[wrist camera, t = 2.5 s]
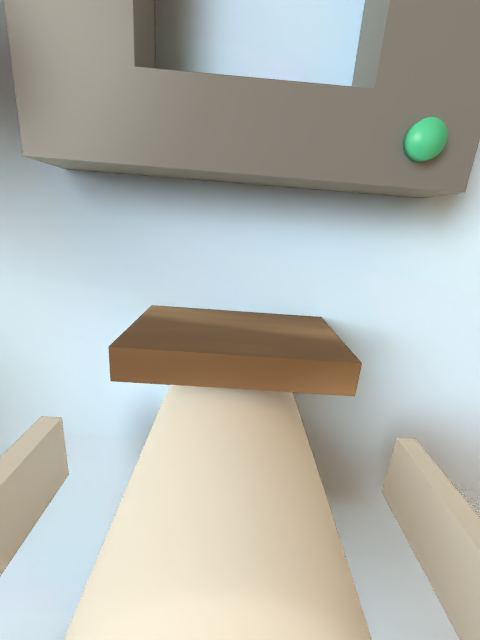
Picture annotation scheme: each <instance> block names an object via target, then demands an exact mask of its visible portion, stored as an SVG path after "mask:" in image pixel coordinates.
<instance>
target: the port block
mask: <svg viewBox="0 0 480 640" xmlns="http://www.w3.org/2000/svg"><path fill="white" fill-rule="evenodd" d="M3 1H4V9H5V17H6V25H7V33H8V41H9V49H10V57H11V65H12V73H13V81H14V89H15V96H16V104H17V112H18V120H19V128H20V136H21V144H22V152H23V156H25V157H28V158H32V159H35V160H38V161H41V162H44V163H48V164H51V165H54V166H57V167H60V168H64V169H75V170H87V171H99V172H112V173H124V174H136V175H148V176H160V177H173V178H185V179H197V180H209V181H222V182H234V183H246V184H258V185H271V186H283V187H295V188H307V189H319V190H332V191H344V192H356V193H368V194H381V195H393V196H405V197H417V198H427V197H434V196H441V195H449V194H456V193H464V192H465V190H466V187H467V183H468V179H469V176H470V172H471V168H472V165H473V161H474V157H475V154H476V150H477V147H478V143H479V139H480V0H365V6H364V12H363V19H362V25H361V31H360V38H359V44H358V51H357V57H356V63H355V70H354V76H353V82H352V87H351V86H340V85H330V84H319V83H308V82H297V81H286V80H275V79H264V78H253V77H243V76H232V75H221V74H210V73H199V72H188V71H177V70H166V69H156V68H155V0H3Z"/></svg>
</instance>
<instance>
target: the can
mask: <svg viewBox="0 0 480 640" xmlns="http://www.w3.org/2000/svg"><path fill="white" fill-rule="evenodd" d="M64 640H371V637H370V633H369V630H368V627H367V623H366V620H365V616H364V613H363V610H362V607H361V604H360V601H359V597H358V594H357V591H356V588H355V585H354V582H353V578H352V575H351V572H350V569H349V566H348V563H347V559H346V556H345V553H344V550H343V547H342V544H341V541H340V538H339V534H338V531H337V528H336V525H335V522H334V519H333V516H332V513H331V509H330V506H329V503H328V500H327V497H326V494H325V491H324V488H323V485H322V482H321V478H320V475H319V472H318V469H317V466H316V463H315V460H314V457H313V454H312V451H311V448H310V444H309V441H308V438H307V435H306V432H305V429H304V426H303V423H302V420H301V417H300V414H299V411H298V408H297V405H296V402H295V399H294V396H293V393H292V392H278V391H262V390H246V389H230V388H214V387H198V386H182V385H170V387H169V389H168V391H167V393H166V396H165V398H164V400H163V402H162V405H161V407H160V409H159V412H158V414H157V417H156V419H155V421H154V424H153V426H152V428H151V431H150V433H149V435H148V438H147V440H146V443H145V445H144V447H143V450H142V452H141V454H140V457H139V459H138V462H137V464H136V466H135V469H134V471H133V473H132V476H131V478H130V481H129V483H128V485H127V488H126V490H125V493H124V495H123V497H122V500H121V502H120V504H119V507H118V509H117V512H116V514H115V516H114V519H113V521H112V524H111V526H110V528H109V531H108V533H107V536H106V538H105V540H104V543H103V545H102V548H101V550H100V552H99V555H98V557H97V560H96V562H95V565H94V567H93V569H92V572H91V574H90V577H89V579H88V582H87V584H86V587H85V589H84V591H83V594H82V596H81V599H80V601H79V604H78V606H77V608H76V611H75V613H74V616H73V619H72V621H71V624H70V626H69V629H68V631H67V634H66V636H65V639H64Z"/></svg>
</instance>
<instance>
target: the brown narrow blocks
mask: <svg viewBox="0 0 480 640" xmlns="http://www.w3.org/2000/svg"><path fill="white" fill-rule="evenodd" d="M109 362H110V378H111V381H117V382H133V383H150V384H166V385H182V386H198V387H214V388H230V389H246V390H262V391H278V392H294V393H310V394H327V395H343V396H355V393H356V388H357V384H358V379H359V374H360V370H361V365H362V363H361V362H360V361H359V360H358V358H357V357H356V356H355V355H354V354H353V353H352V352H351V351H350V349H349V348H348V347H347V346H346V345H345V344H344V343H343V341H342V340H341V339H340V338H339V337H338V336H337V335H336V334H335V332H334V331H333V330H332V329H331V328H330V327H329V326H328V324H327V323H326V322H325V321H324V320H323V319H322V318H321V317H311V316H297V315H282V314H268V313H254V312H239V311H225V310H210V309H196V308H182V307H167V306H153V305H152V306H151V307H150V308H149V309H147V310H146V311H145V312H144V313H143V314H142V315H141V316H140V317H139V318H138V319H137V320H136V321H135V322H134V323H133V324H132V325H131V326H130V327H129V328H128V329H127V330H126V331H125V332H123V333H122V334H121V335H120V336H119V337H118V338H117V339H116V340H115V341H114V342H113V343H112V344H111V345H110V346H109Z"/></svg>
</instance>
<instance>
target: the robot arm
mask: <svg viewBox="0 0 480 640" xmlns="http://www.w3.org/2000/svg"><path fill="white" fill-rule="evenodd" d="M68 475H69V472H68V464H67V456H66V448H65V440H64V431H63V423H62V418H61V417H44V416H41V417H40V418H39V419H38V420H37V421H36V422H35V423H34V424H33V425H32V426H31V427H30V428H29V429H28V430H27V431H26V432H25V433H24V434H23V435H22V436H21V437H20V438H19V439H18V440H17V441H16V442H15V443H14V444H13V445H12V446H11V447H10V448H9V449H8V450H7V451H6V452H5V453H4V454H3V455H2V456H1V457H0V576H1V574H2V573H3V572H4V570H5V569H6V567H7V566H8V564H9V563H10V561H11V560H12V558H13V557H14V555H15V554H16V552H17V551H18V549H19V548H20V546H21V545H22V543H23V542H24V540H25V539H26V537H27V536H28V534H29V533H30V531H31V530H32V528H33V527H34V525H35V524H36V522H37V521H38V519H39V518H40V516H41V515H42V513H43V512H44V511H45V509H46V508H47V506H48V505H49V503H50V502H51V500H52V499H53V497H54V496H55V494H56V493H57V491H58V490H59V488H60V487H61V485H62V484H63V482H64V481H65V479H66V478H67V476H68ZM382 493H383V495H384V497H385V499H386V501H387V503H388V505H389V506H390V508H391V510H392V512H393V514H394V516H395V518H396V520H397V522H398V523H399V525H400V527H401V529H402V531H403V533H404V535H405V537H406V539H407V540H408V542H409V544H410V546H411V548H412V550H413V552H414V554H415V556H416V557H417V559H418V561H419V563H420V565H421V567H422V569H423V571H424V573H425V574H426V576H427V578H428V580H429V582H430V584H431V586H432V588H433V590H434V592H435V593H436V595H437V597H438V599H439V601H440V603H441V605H442V607H443V609H444V610H445V612H446V614H447V616H448V618H449V620H450V622H451V624H452V626H453V627H454V629H455V631H456V633H457V635H458V637H459V639H460V640H480V517H479V516H478V515H477V514H476V512H475V511H474V510H473V509H472V507H471V506H470V505H469V504H468V503H467V501H466V500H465V499H464V498H463V496H462V495H461V494H460V493H459V491H458V490H457V489H456V488H455V487H454V485H453V484H452V483H451V482H450V480H449V479H448V478H447V477H446V476H445V474H444V473H443V472H442V471H441V469H440V468H439V467H438V466H437V464H436V463H435V462H434V461H433V460H432V458H431V457H430V456H429V455H428V453H427V452H426V451H425V450H424V448H423V447H422V446H421V445H420V444H419V442H418V441H417V440H416V439H410V438H396V442H395V446H394V449H393V453H392V456H391V460H390V464H389V467H388V471H387V474H386V478H385V482H384V485H383V489H382Z"/></svg>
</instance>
